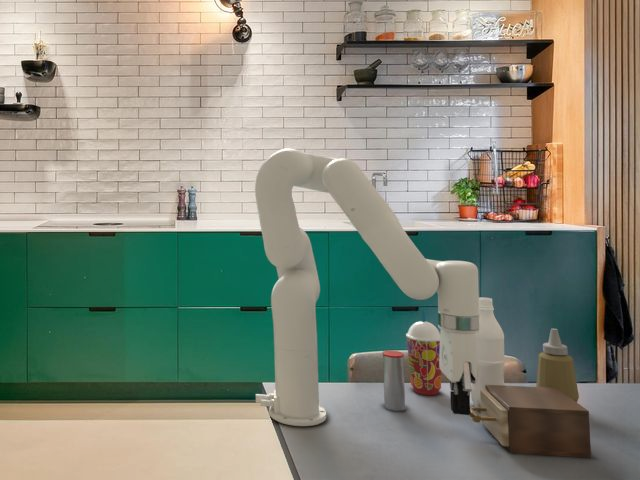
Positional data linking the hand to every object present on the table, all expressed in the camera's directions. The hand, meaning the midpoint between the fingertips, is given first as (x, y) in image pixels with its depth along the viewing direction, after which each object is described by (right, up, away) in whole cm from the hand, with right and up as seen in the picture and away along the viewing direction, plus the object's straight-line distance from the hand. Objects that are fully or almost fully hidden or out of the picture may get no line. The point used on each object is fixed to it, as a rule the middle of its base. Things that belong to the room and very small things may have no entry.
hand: (460, 412), depth 115 cm
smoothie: (+5, -6, +25) cm, 26 cm away
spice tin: (-7, -6, +16) cm, 18 cm away
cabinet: (+14, -4, -3) cm, 15 cm away
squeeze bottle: (+29, -5, +13) cm, 32 cm away
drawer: (+10, -4, -2) cm, 11 cm away
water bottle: (+14, -5, +14) cm, 20 cm away
